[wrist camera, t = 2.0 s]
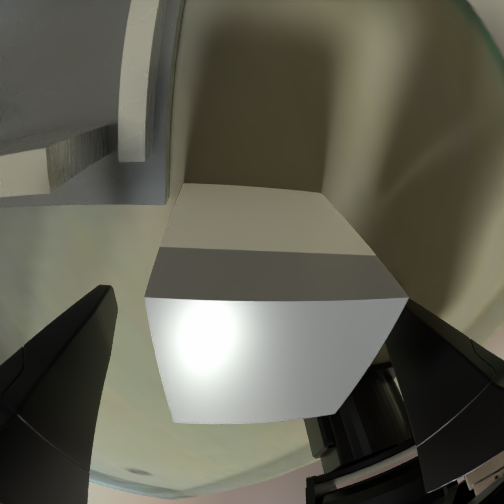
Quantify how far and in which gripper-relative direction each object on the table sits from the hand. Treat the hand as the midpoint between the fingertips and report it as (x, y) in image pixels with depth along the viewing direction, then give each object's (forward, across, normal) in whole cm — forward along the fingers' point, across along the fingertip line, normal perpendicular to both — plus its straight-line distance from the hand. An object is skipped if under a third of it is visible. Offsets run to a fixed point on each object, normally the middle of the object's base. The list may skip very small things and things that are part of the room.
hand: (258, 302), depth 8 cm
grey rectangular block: (+3, 0, 0) cm, 3 cm away
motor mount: (+3, +12, -8) cm, 15 cm away
